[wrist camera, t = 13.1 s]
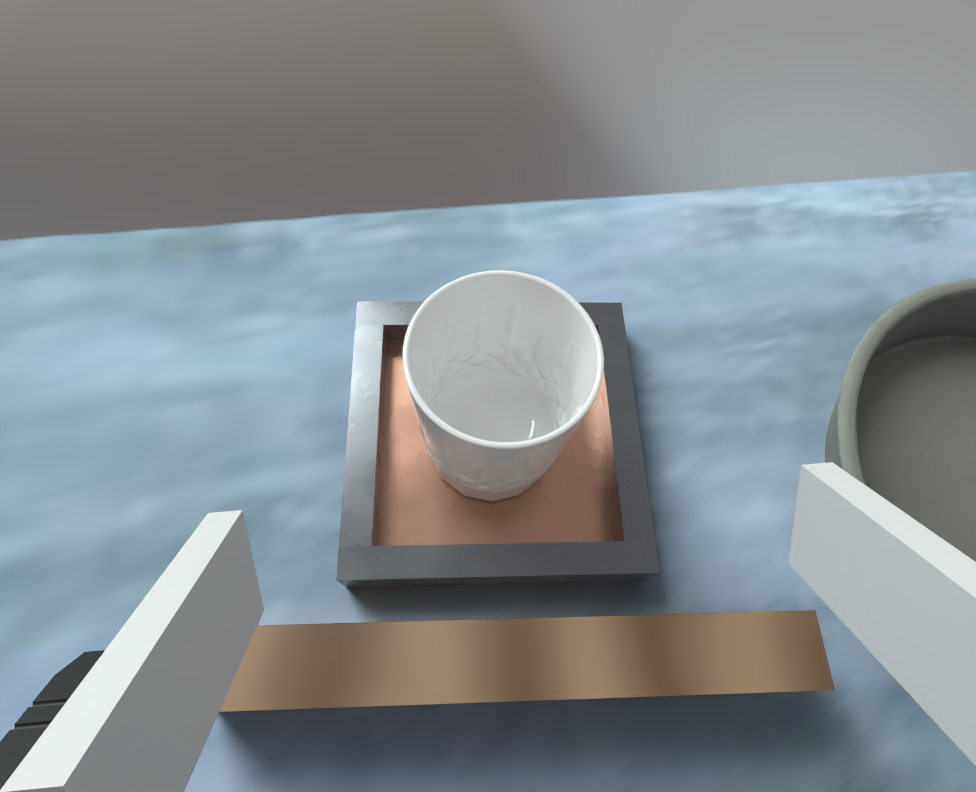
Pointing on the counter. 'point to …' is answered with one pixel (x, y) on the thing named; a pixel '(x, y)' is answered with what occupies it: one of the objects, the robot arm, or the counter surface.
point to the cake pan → (916, 411)
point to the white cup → (500, 378)
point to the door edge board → (528, 660)
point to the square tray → (480, 523)
